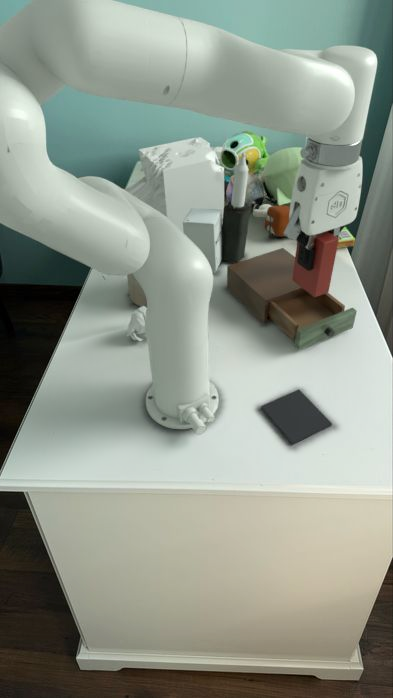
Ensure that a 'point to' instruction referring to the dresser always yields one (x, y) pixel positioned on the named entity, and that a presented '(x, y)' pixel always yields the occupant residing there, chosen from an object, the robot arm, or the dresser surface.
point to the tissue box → (180, 179)
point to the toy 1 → (281, 175)
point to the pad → (296, 416)
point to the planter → (136, 291)
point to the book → (317, 265)
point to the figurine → (137, 323)
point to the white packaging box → (206, 233)
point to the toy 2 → (273, 218)
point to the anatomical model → (249, 191)
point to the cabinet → (262, 281)
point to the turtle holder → (247, 145)
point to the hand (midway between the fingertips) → (313, 262)
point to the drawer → (310, 317)
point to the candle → (236, 217)
